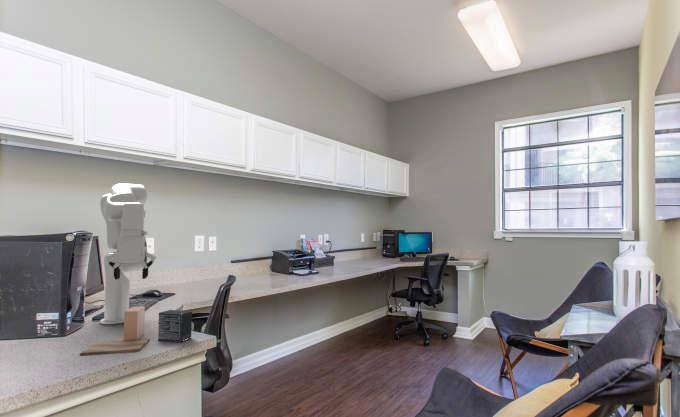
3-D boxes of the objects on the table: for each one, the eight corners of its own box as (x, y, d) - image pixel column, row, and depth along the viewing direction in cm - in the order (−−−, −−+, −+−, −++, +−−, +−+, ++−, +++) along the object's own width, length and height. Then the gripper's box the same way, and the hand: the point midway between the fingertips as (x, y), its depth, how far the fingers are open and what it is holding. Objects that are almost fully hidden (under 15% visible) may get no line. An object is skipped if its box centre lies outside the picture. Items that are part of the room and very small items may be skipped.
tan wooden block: (131, 334, 145) (132, 306, 146) (144, 333, 146) (144, 306, 147) (123, 341, 136) (124, 311, 137) (136, 340, 137) (137, 311, 138)
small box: (192, 338, 140) (193, 310, 141) (180, 343, 134) (181, 314, 135) (169, 335, 143) (170, 308, 144) (157, 340, 137) (157, 312, 138)
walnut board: (95, 344, 133) (95, 341, 133) (149, 340, 137) (149, 338, 137) (79, 355, 121) (80, 352, 121) (139, 351, 125) (139, 348, 125)
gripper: (159, 234, 147) (158, 276, 146) (111, 234, 144) (110, 278, 143) (153, 234, 140) (152, 279, 139) (103, 234, 136) (101, 280, 135)
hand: (131, 278), depth 141 cm, fingers open, 9 cm apart
